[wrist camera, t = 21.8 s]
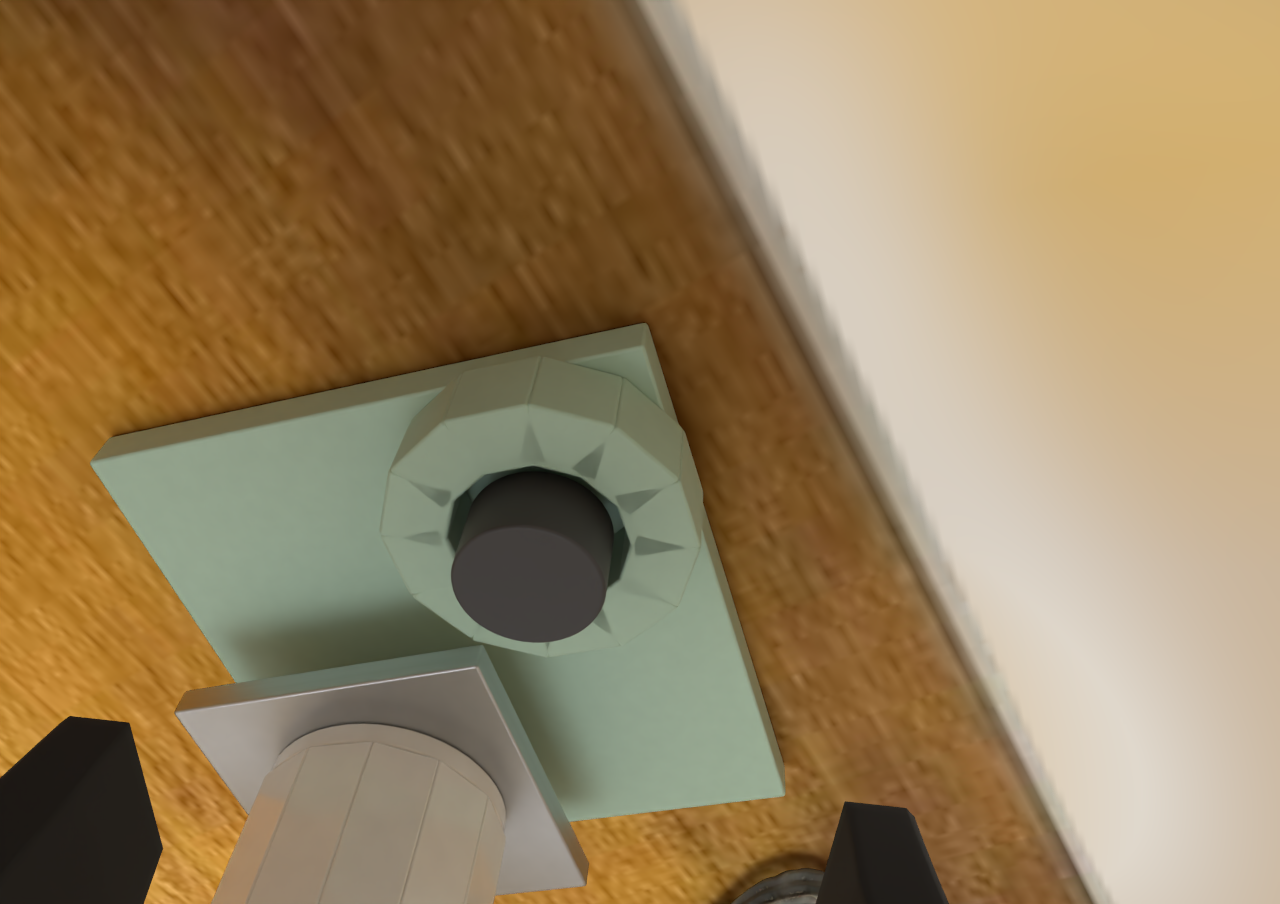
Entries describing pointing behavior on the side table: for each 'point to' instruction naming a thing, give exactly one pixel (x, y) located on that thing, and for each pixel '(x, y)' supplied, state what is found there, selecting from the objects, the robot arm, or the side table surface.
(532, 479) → the tare button
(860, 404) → the side table surface
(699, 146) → the side table surface
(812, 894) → the composite cable
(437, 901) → the beige cup
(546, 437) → the scale
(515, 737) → the grey square plate
